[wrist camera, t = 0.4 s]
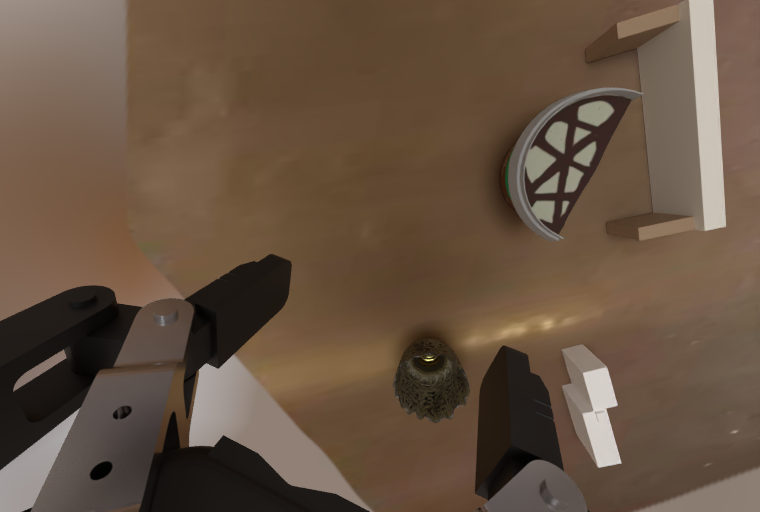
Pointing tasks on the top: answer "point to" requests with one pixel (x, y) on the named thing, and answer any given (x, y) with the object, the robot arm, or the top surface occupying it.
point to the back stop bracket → (675, 117)
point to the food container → (560, 156)
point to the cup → (430, 380)
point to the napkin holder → (591, 404)
